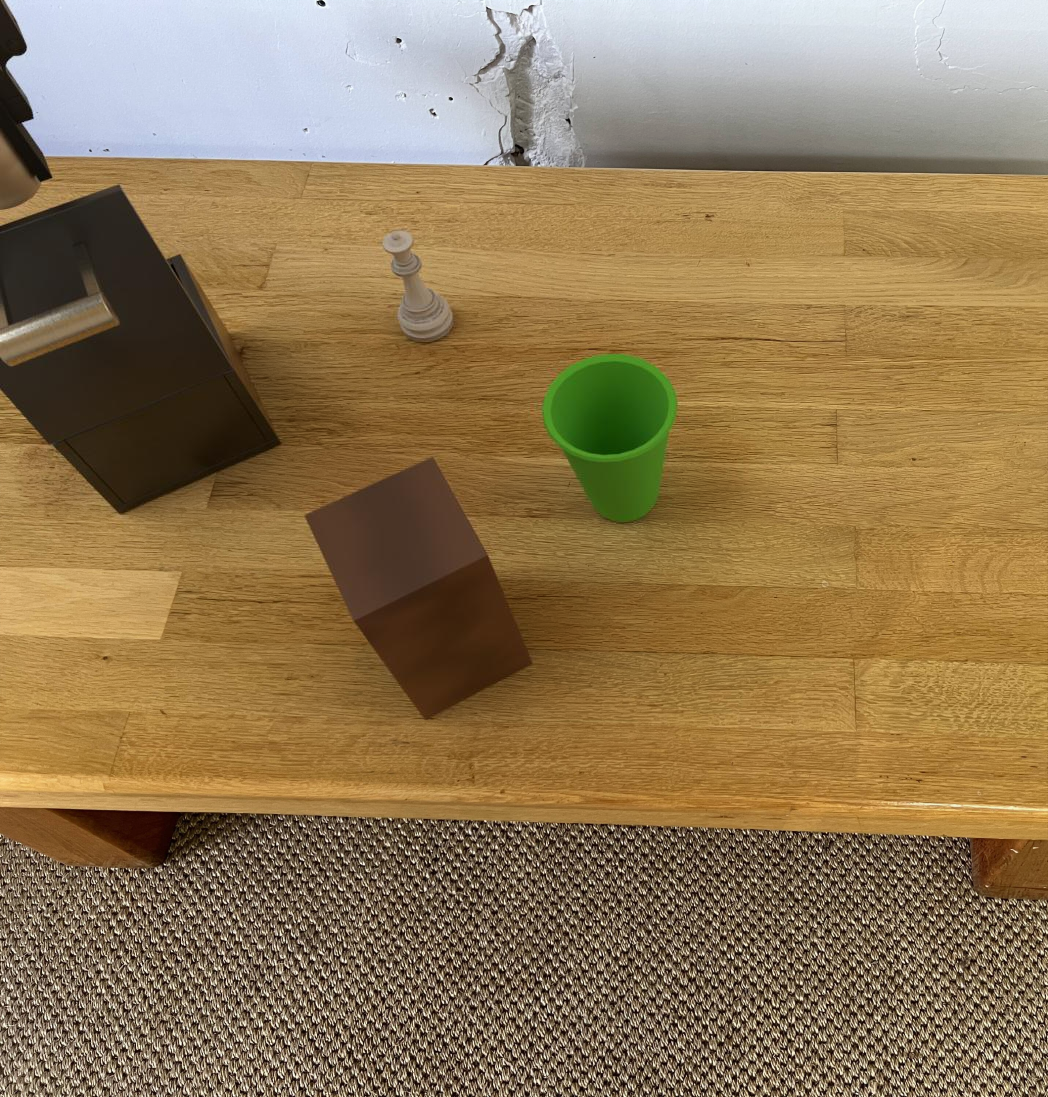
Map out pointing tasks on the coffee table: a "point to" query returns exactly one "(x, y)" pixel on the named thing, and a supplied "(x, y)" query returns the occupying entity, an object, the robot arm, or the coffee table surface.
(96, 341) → the handled dark lid
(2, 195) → the tan wooden cylinder
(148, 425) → the dark boxy piece
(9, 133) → the robot arm
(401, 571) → the dark brown rectangular block
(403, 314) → the chess piece
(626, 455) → the cup
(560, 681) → the coffee table surface
